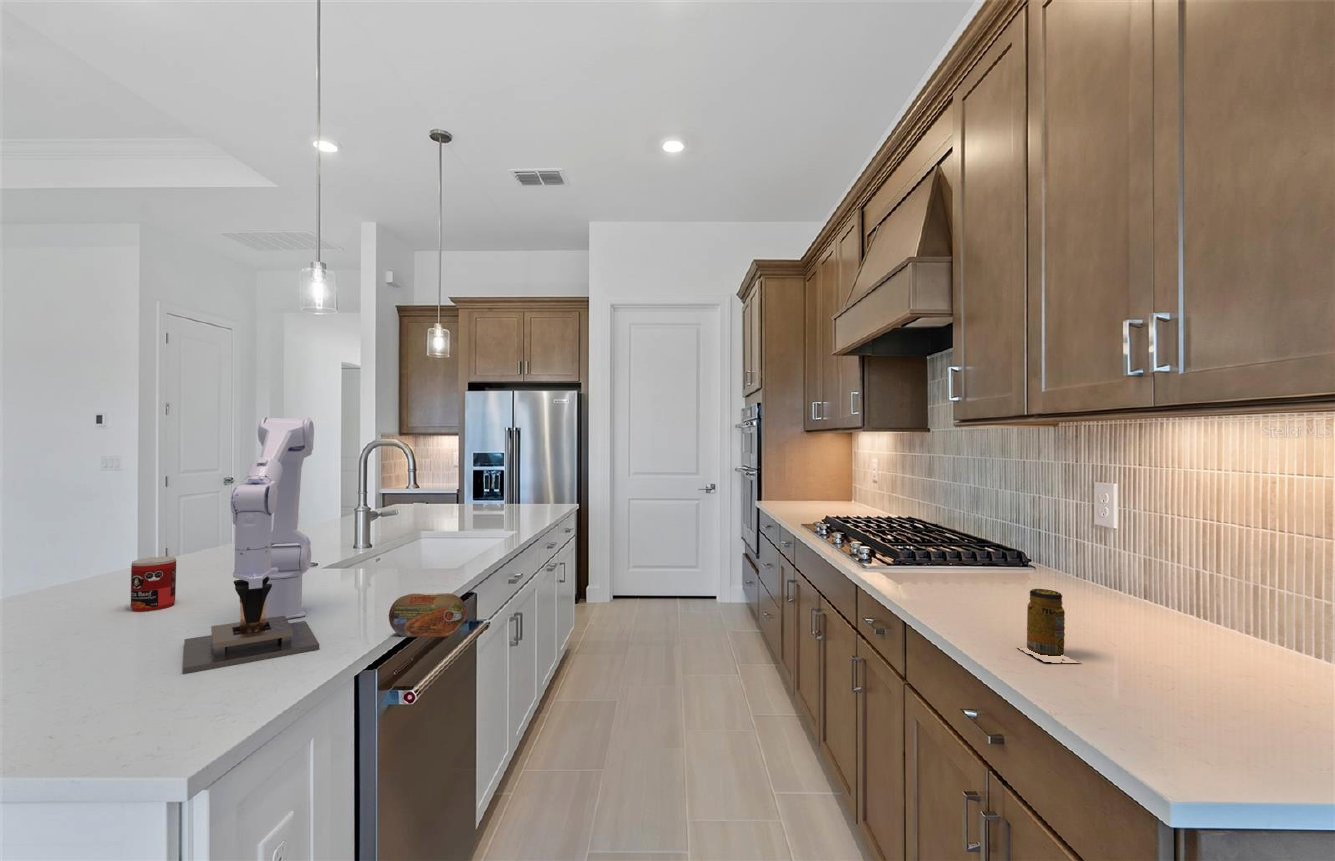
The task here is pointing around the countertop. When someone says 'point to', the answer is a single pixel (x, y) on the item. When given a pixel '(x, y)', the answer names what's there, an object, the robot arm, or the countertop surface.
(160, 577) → the canned food
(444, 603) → the tin
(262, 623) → the tan rectangular block
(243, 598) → the robot arm
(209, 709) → the countertop surface
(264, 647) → the grey slotted base plate
